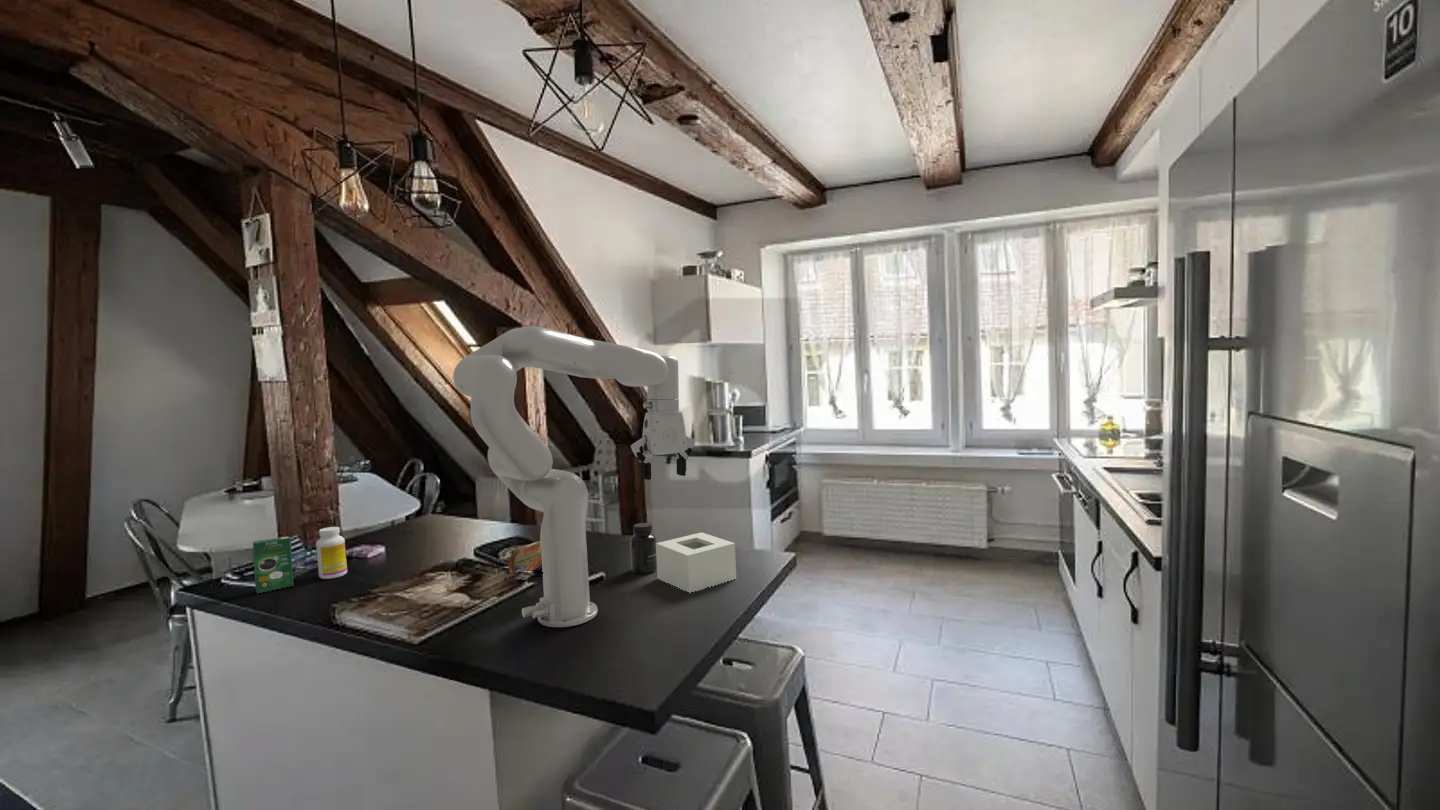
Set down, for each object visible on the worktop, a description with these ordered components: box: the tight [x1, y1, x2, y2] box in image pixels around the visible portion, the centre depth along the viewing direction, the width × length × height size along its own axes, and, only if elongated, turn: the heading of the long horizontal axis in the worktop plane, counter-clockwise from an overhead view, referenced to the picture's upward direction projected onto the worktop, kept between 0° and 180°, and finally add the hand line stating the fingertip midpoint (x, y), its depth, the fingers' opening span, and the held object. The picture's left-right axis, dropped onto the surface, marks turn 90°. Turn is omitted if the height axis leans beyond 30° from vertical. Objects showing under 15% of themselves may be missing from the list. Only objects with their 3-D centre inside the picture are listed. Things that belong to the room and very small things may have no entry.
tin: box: [508, 540, 542, 574], centre depth 168 cm, size 15×3×8 cm, turn 148°
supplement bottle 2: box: [629, 522, 658, 575], centre depth 168 cm, size 7×7×12 cm
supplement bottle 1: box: [315, 526, 348, 580], centre depth 174 cm, size 7×7×13 cm
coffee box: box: [252, 535, 295, 595], centre depth 164 cm, size 8×3×13 cm, turn 129°
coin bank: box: [656, 531, 737, 594], centre depth 160 cm, size 14×14×9 cm
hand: (664, 477), depth 157 cm, fingers open, 9 cm apart
